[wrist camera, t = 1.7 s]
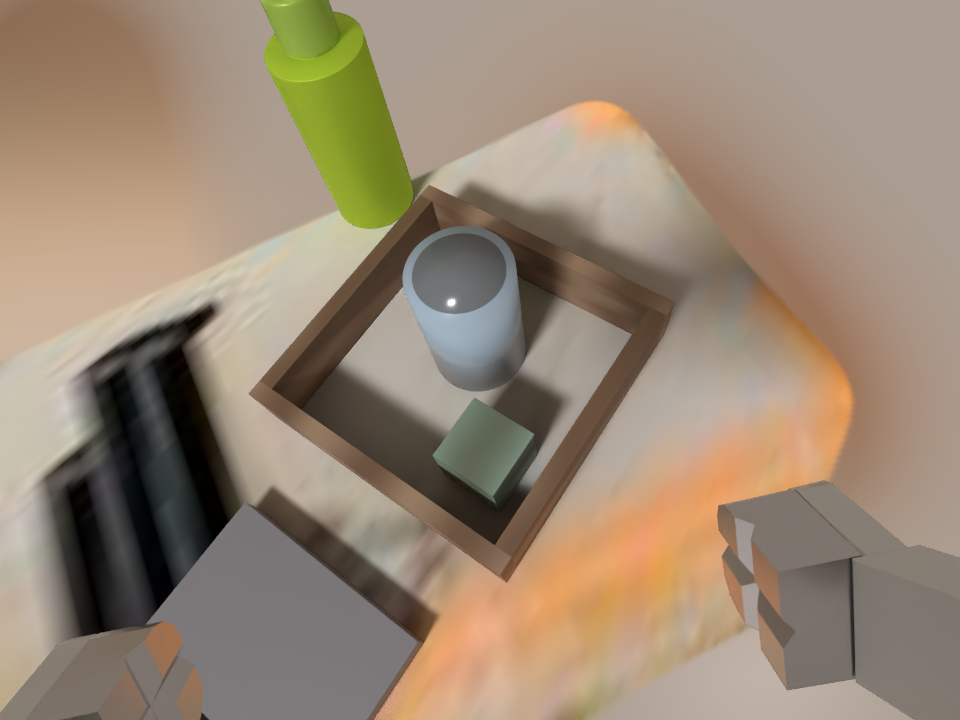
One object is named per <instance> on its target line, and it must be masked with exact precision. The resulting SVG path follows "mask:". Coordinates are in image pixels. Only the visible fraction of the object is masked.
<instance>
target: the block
mask: <svg viewBox="0 0 960 720" xmlns="http://www.w3.org/2000/svg"><path fill="white" fill-rule="evenodd" d="M432 456H433V457H434V459H435V460H436V462H437V463H438V465H439V466H440V468H441V469H442V471H443V472H444V474H445V475H447V476H448V477H449V478H451V479H452V480H454V481H455V482H457V483H458V484H460V485H461V486H463V487H464V488H466V489H467V490H469V491H470V492H472V493H473V494H475V495H476V496H478V497H479V498H481V499H482V500H484V501H485V502H486V503H488V504H489V505H491V506H492V507H494V508H495V509H497V510H498V511H500V510H501V509H502V507H503V506H504V504H505V503H506V501H507V500H508V498H509V497H510V495H511V494H512V492H513V491H514V489H515V488H516V486H517V485H518V483H519V482H520V480H521V479H522V477H523V476H524V474H525V473H526V471H527V470H528V468H529V467H530V465H531V464H532V462H533V461H534V459H535V458H536V456H537V450H536V442H535V434H533V433H532V432H530V431H529V430H527V429H525V428H524V427H522V426H520V425H519V424H517V423H515V422H514V421H512V420H510V419H509V418H507V417H506V416H504V415H502V414H501V413H499V412H497V411H496V410H494V409H492V408H491V407H489V406H488V405H486V404H484V403H483V402H481V401H479V400H478V399H476V398H474V399H473V400H472V402H471V403H470V404H469V406H468V407H467V408H466V410H465V411H464V413H463V414H462V415H461V417H460V418H459V419H458V421H457V422H456V424H455V425H454V426H453V428H452V429H451V431H450V432H449V433H448V435H447V436H446V437H445V439H444V440H443V442H442V443H441V444H440V446H439V447H438V448H437V450H436V451H435V453H434V454H433V455H432Z"/></svg>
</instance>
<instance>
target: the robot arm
mask: <svg viewBox="0 0 960 720" xmlns="http://www.w3.org/2000/svg"><path fill="white" fill-rule="evenodd" d="M717 516H718V527H719V531H720V533H721V534H722V536H723V537H724V538H725V540H726V541H727V543H728V544H729V545H728V547H727V549H726V550H725V552H724V554H723V555H722V561H723V568H724V575H725V579H726V582H727V586H728V589H729V592H730V596H731V598H732V600H733V602H734V604H735V606H736V609H737V611H738V612H739V614H740V616H741V617H742V619H743V621H744V622H745V624H746V625H748V626H750V627H752V628H754V629H756V630H758V631H759V634H760V643H761V650H762V652H763V653H764V655H765V656H766V658H767V659H768V661H769V663H770V664H771V666H772V667H773V669H774V670H775V672H776V674H777V675H778V677H779V678H780V680H781V682H782V683H783V685H784V686H785V688H786V690H792V689H798V688H803V687H809V686H816V685H822V684H828V683H833V682H840V681H846V680H852V679H856V683H858V684H859V685H861V686H862V687H864V688H865V689H867V690H869V691H870V692H872V693H873V694H875V695H877V696H878V697H880V698H881V699H883V700H884V701H886V702H888V703H889V704H890V705H892V706H894V707H895V708H897V709H898V710H900V711H901V712H903V713H905V714H906V715H908V716H909V717H911V718H912V719H914V720H960V558H959V557H956V556H953V555H950V554H946V553H943V552H940V551H937V550H934V549H931V548H927V547H925V546H921V545H917V546H912V547H907V546H906V545H904V544H903V543H902V542H901V541H900V540H899V539H897V538H896V537H895V536H894V535H892V534H891V533H890V532H889V531H888V530H887V529H886V528H884V527H883V526H882V525H881V524H880V523H879V522H877V521H876V520H875V519H874V518H872V517H871V516H870V515H869V514H868V513H867V512H865V511H864V510H863V509H862V508H861V507H860V506H859V505H857V504H856V503H855V502H854V501H853V500H851V499H850V498H849V497H848V496H846V495H845V494H844V493H843V492H842V491H841V490H840V489H838V488H837V487H836V486H835V485H834V484H833V483H831V482H827V481H824V480H823V481H819V482H815V483H811V484H807V485H803V486H799V487H794V488H790V489H788V490H786V491H782V492H777V493H773V494H768V495H764V496H759V497H754V498H750V499H745V500H741V501H736V502H732V503H727V504H723V505H719V506H718V514H717ZM182 645H183V640H182V638H181V636H180V635H179V633H178V631H177V629H176V627H175V625H174V624H171V623H167V622H164V621H162V622H157V623H152V624H146V625H141V626H135V627H130V628H125V629H119V630H114V631H109V632H103V633H100V634H93V635H89V636H84V637H79V638H74V639H70V640H67V641H65V642H63V643H61V644H59V645H57V646H56V647H55V648H54V649H53V650H52V652H51V653H50V654H49V655H48V656H47V658H46V659H45V660H44V661H43V662H42V664H41V665H40V666H39V667H38V668H37V670H36V671H35V672H34V673H33V674H32V675H31V677H30V678H29V679H28V680H27V681H26V683H25V684H24V685H23V686H22V687H21V689H20V690H19V691H18V692H17V693H16V695H15V696H14V697H13V698H12V699H11V700H10V702H9V703H8V704H7V705H6V706H5V708H4V709H3V710H2V711H1V712H0V720H200V717H201V711H202V703H203V689H202V683H201V678H200V676H199V674H198V672H197V669H196V667H195V665H193V664H192V663H190V662H188V661H187V660H185V659H184V658H182V657H180V656H179V654H180V651H181V648H182Z"/></svg>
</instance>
